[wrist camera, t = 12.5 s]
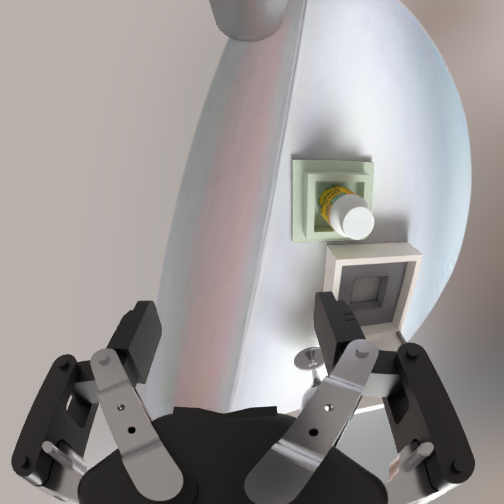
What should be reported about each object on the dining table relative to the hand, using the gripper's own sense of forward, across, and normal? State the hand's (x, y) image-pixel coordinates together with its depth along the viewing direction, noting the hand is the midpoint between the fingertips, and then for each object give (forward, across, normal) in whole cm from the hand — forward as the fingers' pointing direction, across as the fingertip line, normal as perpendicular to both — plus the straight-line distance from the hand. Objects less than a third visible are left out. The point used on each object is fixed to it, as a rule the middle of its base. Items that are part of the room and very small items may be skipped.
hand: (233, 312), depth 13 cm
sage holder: (+27, -13, +2) cm, 30 cm away
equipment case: (+27, -20, +17) cm, 37 cm away
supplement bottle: (+26, -13, +2) cm, 29 cm away
